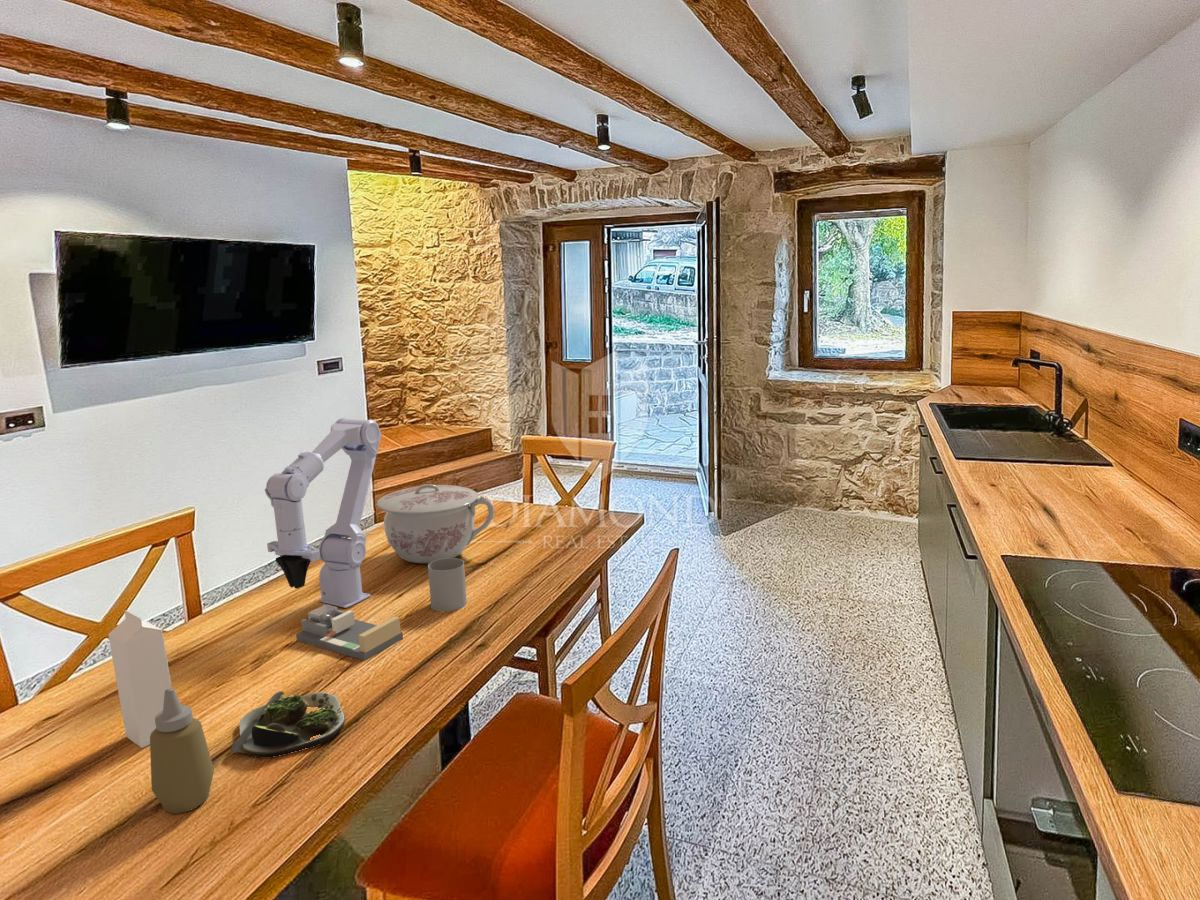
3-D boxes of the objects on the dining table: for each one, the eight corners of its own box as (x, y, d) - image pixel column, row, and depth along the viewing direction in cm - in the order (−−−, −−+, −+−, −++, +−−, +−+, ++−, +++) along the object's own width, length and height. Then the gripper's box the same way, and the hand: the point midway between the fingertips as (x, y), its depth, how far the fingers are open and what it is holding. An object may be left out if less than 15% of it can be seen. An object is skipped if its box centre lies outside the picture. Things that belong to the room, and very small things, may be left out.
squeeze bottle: (199, 777, 118) (183, 670, 114) (228, 796, 113) (212, 685, 109) (144, 806, 111) (125, 694, 107) (173, 827, 107) (154, 711, 103)
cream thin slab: (325, 636, 160) (323, 622, 159) (350, 623, 166) (349, 610, 165) (329, 637, 159) (327, 623, 159) (354, 624, 165) (353, 611, 165)
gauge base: (296, 640, 163) (294, 618, 162) (336, 620, 173) (334, 599, 172) (364, 660, 154) (362, 637, 153) (402, 638, 163) (401, 616, 162)
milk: (162, 721, 134) (144, 603, 129) (179, 732, 130) (161, 611, 126) (125, 737, 129) (104, 615, 124) (141, 749, 125) (120, 624, 121)
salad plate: (231, 712, 137) (227, 688, 136) (335, 687, 144) (332, 665, 143) (232, 771, 120) (228, 745, 119) (350, 740, 127) (347, 715, 126)
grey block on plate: (309, 627, 165) (307, 612, 164) (328, 618, 169) (326, 604, 169) (330, 633, 162) (329, 618, 161) (348, 624, 166) (347, 609, 165)
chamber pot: (360, 561, 210) (353, 488, 206) (434, 534, 232) (429, 467, 228) (431, 581, 194) (425, 503, 190) (503, 550, 216) (499, 479, 212)
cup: (458, 612, 175) (455, 571, 173) (425, 610, 177) (421, 569, 175) (471, 598, 183) (469, 558, 181) (439, 596, 185) (436, 557, 183)
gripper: (252, 528, 166) (260, 587, 168) (298, 537, 159) (305, 598, 161) (280, 519, 172) (286, 576, 174) (325, 527, 165) (331, 587, 167)
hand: (297, 586), depth 168 cm, fingers closed
